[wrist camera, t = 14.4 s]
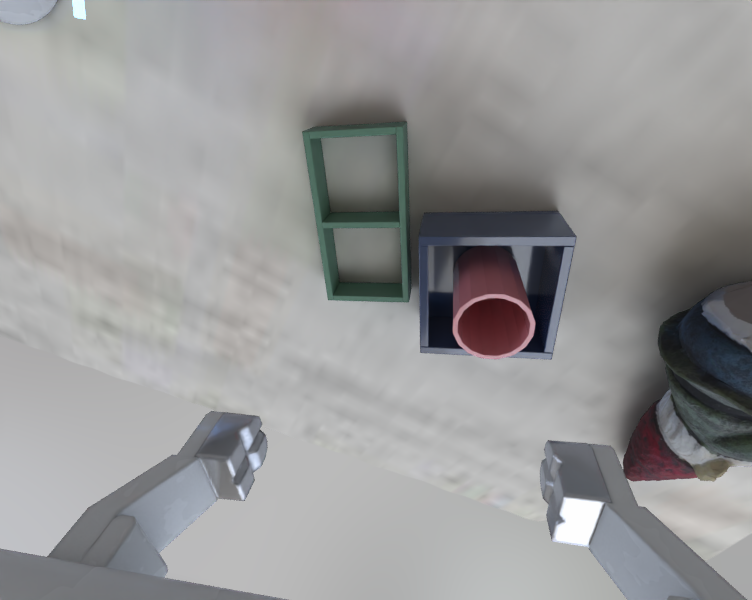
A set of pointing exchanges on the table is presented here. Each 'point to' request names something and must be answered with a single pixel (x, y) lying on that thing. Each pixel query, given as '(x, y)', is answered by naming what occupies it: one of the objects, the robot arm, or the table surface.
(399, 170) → the rack
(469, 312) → the cup
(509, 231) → the navy blue open box
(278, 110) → the table surface
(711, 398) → the figurine
